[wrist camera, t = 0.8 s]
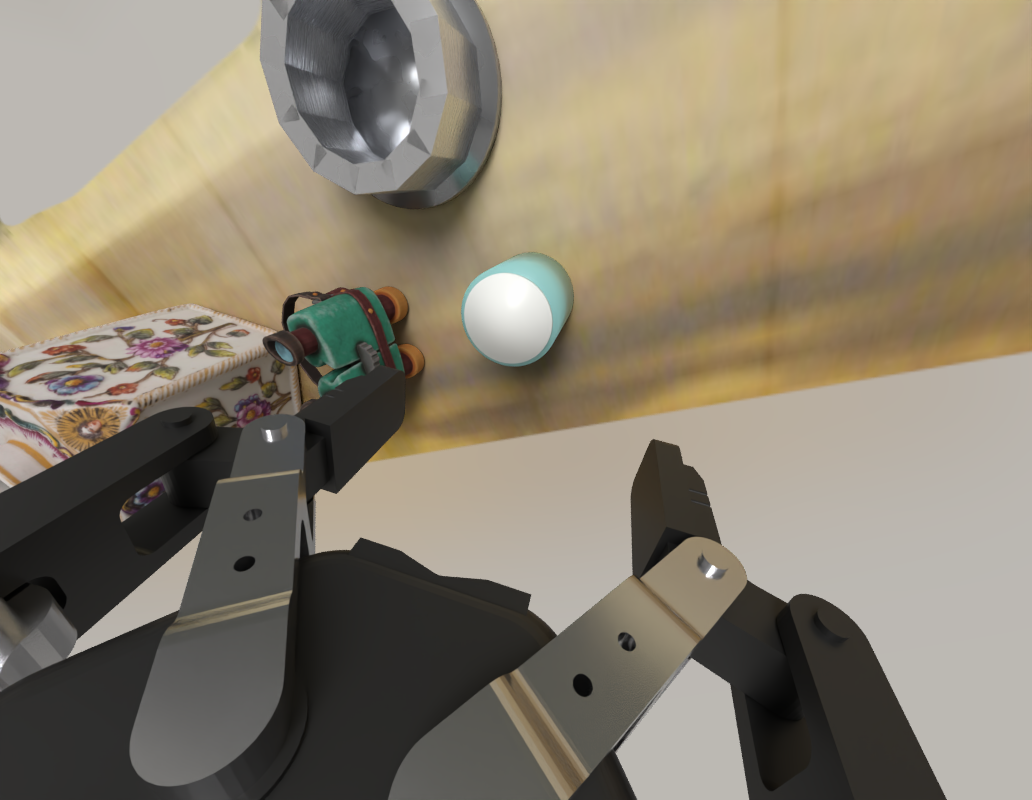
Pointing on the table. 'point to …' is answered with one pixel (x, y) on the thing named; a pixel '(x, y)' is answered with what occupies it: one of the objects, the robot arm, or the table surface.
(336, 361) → the binoculars
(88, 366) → the decorative jar
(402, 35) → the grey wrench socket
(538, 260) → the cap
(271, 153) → the table surface
